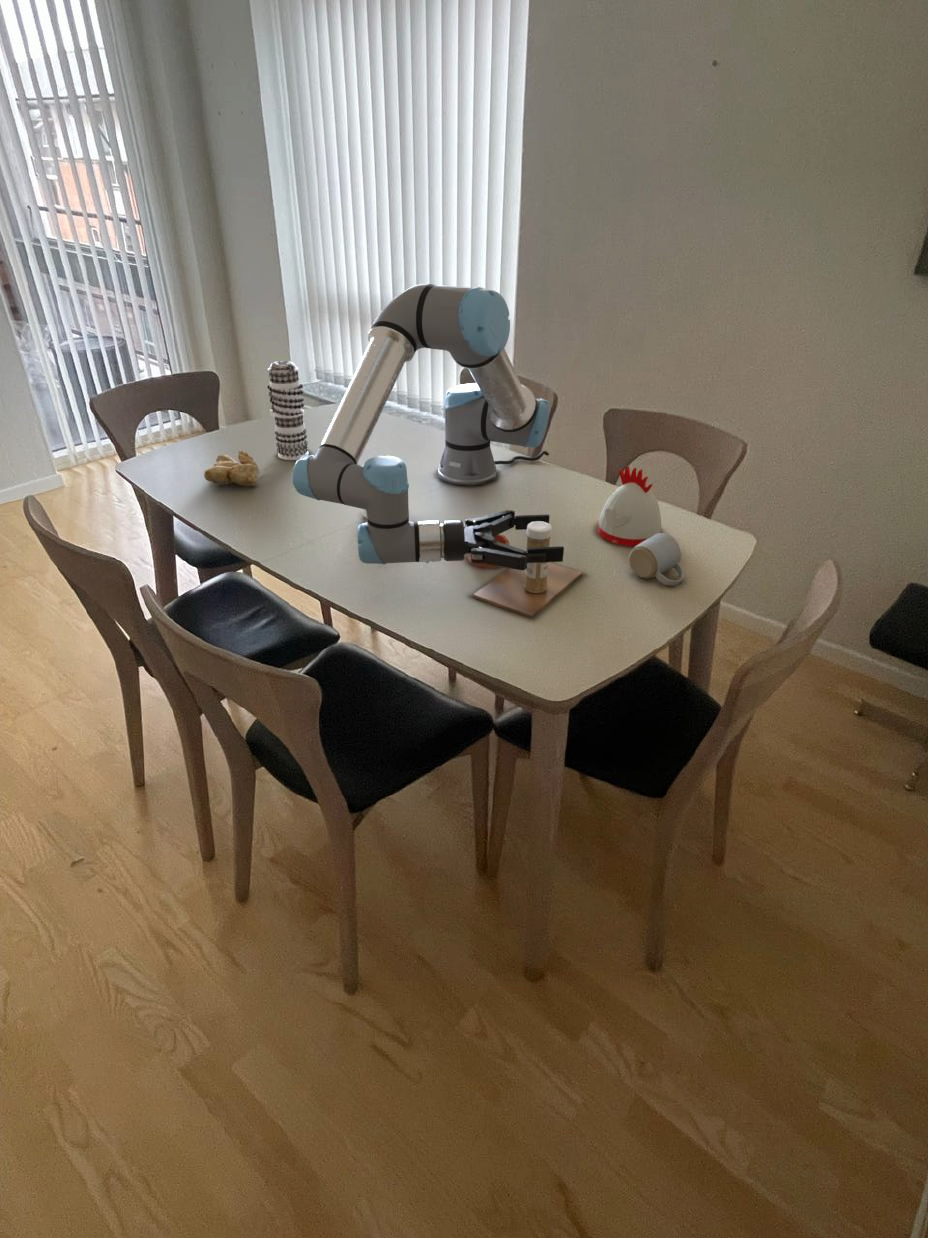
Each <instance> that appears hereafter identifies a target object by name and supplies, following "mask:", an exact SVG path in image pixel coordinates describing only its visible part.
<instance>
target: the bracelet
mask: <svg viewBox="0 0 928 1238" xmlns="http://www.w3.org/2000/svg"><path fill="white" fill-rule="evenodd" d="M493 538H495V539H496V540H497V541H498V542H500V543H504V544H507V545H510V540H509V539H508V538H507V537H506V536H505V535H503V534H501V533H500V534H498V535H496V536H494V537H493ZM484 556H485V555H484ZM466 560H467V561H468V562H469V563H470V565H473V566H474V567H475V566H476V567H478V568H483V569H493V568H494V569H495V568H498V567H500V566H496V565H490V564H485V563H472V562H471V561H472V554H466Z"/></svg>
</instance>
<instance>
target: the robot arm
mask: <svg viewBox="0 0 928 1238" xmlns="http://www.w3.org/2000/svg"><path fill="white" fill-rule="evenodd" d="M509 317H510V310H509V307H508V304H507V301H506V300H505V298H504V296H503V295H501V294H500V293H499V292H497V291H496V290H493V289H487V288H484V287H480V286H475V287H471V286H469V287H468V286H455V285H442V284H433V283H420V284H416V285H413V286H411V287H409V288H406V289H404V290H403V291H402V292H400V293H399V294H397V295H396V296H395V297H394V298H392V299H391V300H390V301H389V302H388V303H387V305H386V306H385V307H384V308H383V309H382V310H381V311H380V312H379V313H378V315H377V316H376V318H375V319H374V320H373V323H372V325H371V327H370V329H369V331H368V335H367V340H368V343H369V344H368V346H367V347H366V350H365V352H364V354H363V356H362V358H361V361H360V363H359V364H358V366H357V368H356V371H355V373H354V375H353V377H352V379H351V381H350V383H349V384H348V387H347V388H346V389H347V390H346V391H345V393H344V396H343V398H342V399H341V402H340V404H339V406H338V408H337V410H336V412H335V414H334V416H333V418H332V421H331V423H330V424H329V426H328V429H327V431H326V433H325V434H324V437H323V439H322V441H321V443H320V445H319V447H318V449H317V450H316V453H315V455H312V454H310V455H309V454H308V455H305V456H302V457H301V458H300V459H298V460H296V462H295V463H294V466H293V469H292V474H291V475H292V484H293V487H294V489H295V491H296V492H297V493H298V494H299V495H301V496H304V497H307V498H310V499H313V500H316V501H325V502H329V503H335V504H340V505H343V506H347V507H353V508H357V509H360V510H361V509H365V510H366V512H367V518H366V522H362V523H359V524H358V525H357V535H356V537H357V551H358V558H359V561H360V562H361V563H363V564H369V565H370V564H374V565H375V564H376V565H388V564H402V563H403V564H404V563H426V564H429V563H431V562H432V563H433V562H434V563H435V562H441V561H442V559H443V560H444V561H445V562H462V561H463V560H465V555H467V554H472V561H471V562H472V563H485V564H490V565H496V566H499V567H502V568H506V569H509V568H511V569H517V570H525V569H527V563H541V562H549V563H563V562H564V552H565V547H564V546H562V545H561V546H549V547H531V548H527V547H526V549H527V551H526V549H522V548H520V547H516V546H513V545H510V544H509V545H507V544H504V543H500V542H498V541H497V540H496V539H495V538H493V537H494V536H496V535H498V534H500V535H501V534H503V533H505V532H507V531H510V530H511V529H513V528H514V529H515V531H524V530H526V531H527V526H528V524H529V523H531V522H535V521H542V522H546V523H549V524H550V514H522V515H521V514H520V515H516V510H514V509H513V510H511V509H510V510H508V509H507V510H503V511H497V512H493V513H489V514H486V515H482V516H479V517H473V518H465V519H464V522H463V520H461V519H453V520H452V519H449V520H444V521H443V522H442V523H441V522H440V521H439V520H420V521H419V520H418V521H410V513H409V487H410V484H409V481H408V479H409V478H408V470H407V465H406V463H405V462H404V460H403V459H401V458H399V457H396V456H394V455H393V456H392V455H386V456H383V455H377V456H373V457H371V458H369V459H367V460H366V461H365V462H364V464H363V465H362V464H358V463H359V462H360V459H361V457H362V455H363V453H364V451H365V448H366V446H367V444H368V442H369V440H370V438H371V436H372V434H373V431H374V429H375V427H376V425H377V423H378V421H379V418H380V417H381V414H382V412H383V411H384V408H385V407H386V404H387V401H388V399H389V397H390V395H391V393H392V391H393V390H394V387H395V384H396V382H397V380H398V378H399V376H400V374H401V372H402V369H403V367H404V365H405V363H409V362H411V361H412V360H413V359H414V356H415V355H416V352H417V351H418V350H421V349H431V350H438V351H446V352H448V353H449V354H450V356H451V358H452V359H453V361H454V362H455V363H456V364H457V365H458V366H460V367H462V368H465V369H467V370H468V372H469V373H470V375H471V377H472V378H473V380H474V382H470V383H464V384H459V385H455V386H453V387H450V388H449V389H448V390H447V391H446V393H445V398H444V407H443V409H444V449H443V452H442V455H441V458H440V461H439V465H438V468H437V469H438V471H437V472H438V473H437V474H438V478H439V479H440V480H441V481H443V482H444V483H445V482H446V483H447V484H451V485H456V486H466V487H468V486H470V487H471V486H480V485H485V484H488V483H491V482H492V481H494V480H495V479H496V478H497V471H498V470H497V465H511V464H513V463H514V462H515V461H518V460H519V461H520V460H521V461H528V462H534V461H538V460H540V459H541V458H542V457H543V456H544V455H545V456H547V457H548V456H550V453H549V452H548V451H547V450H542V451H541V452H539V454H538V455H536V456H532V457H530V456H524V455H516V456H513V457H511V459H510V460H495V459H494V456H493V452H492V448H491V442H494V443H500V444H506V445H512V446H518V447H523V448H525V449H526V448H533V449H535V448H536V449H537V448H538V447H539V446H541V444H542V442H543V440H544V438H545V435H546V432H547V428H548V425H549V419H550V410H551V409H550V408H551V407H550V402H549V401H548V400H547V399H544V398H541V397H540V398H536V397H535V394H534V393H533V392H532V390H531V389H530V388H529V387H528V386H526V385H524V384H522V383H521V381H520V378H519V376H518V374H517V372H516V370H515V367H514V366H513V363H512V362H511V359H510V357H509V355H508V353H507V351H506V349H505V348H506V346H507V344H508V341H509V337H510V331H511V320H510V318H509ZM484 555H485V556H484Z"/></svg>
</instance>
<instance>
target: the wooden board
mask: <svg viewBox="0 0 928 1238" xmlns="http://www.w3.org/2000/svg"><path fill="white" fill-rule="evenodd" d="M582 575H583V572H581V571H578V570H575V569H571V568H568V567H565V566H563V565H559V564H556V563H554V562H548V574H547V589H546V590H545V591H544V592H542V593H531V592H528V591H527V590H525V588H524V584H525V570H517V569H511V568H506V570H504V571H503V572H502V573H500V574H499V575H497V577H495V578H494V579H493V580H491V581H490V582H488V583H486V585H484V586H483V587H481V588H480V589H479V590H478V591H476V592H474V593H473V595H472V597H473V598H474V599H477V600H479V601H483V602H486V603H489V604H492V605H493V606H496V607H498V608H499V607H500V608H502V609H506V610H508V611H511V612H512V613H517V614H519V615H522V616H524V617H527V618H530V619H533V618H534V617H535V616H536V615H537V614H538V613H539V612H541V611H542V610H543V609H544V608H545V607H547V606H548V605H549V604H550V603H551V602H552V601H553V600H555V599H556V598H557V597H558V596H560V594H561V593H563V592H564V591H565V590H566V589H568V588H569V587H570V586H571V585H572V584H574V583H575V582H576V581H577V580H578V579H579V578H580V577H581V576H582Z"/></svg>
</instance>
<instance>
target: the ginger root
mask: <svg viewBox="0 0 928 1238" xmlns="http://www.w3.org/2000/svg"><path fill="white" fill-rule="evenodd" d="M237 458H238V461H239V462H237V461H236V460H235V459H233V458H232V457H231V456H230V455H228V454H219V455H218V456H217V458H216V459H215V461H216V462H215V463H214V464H213V466H211V467H208V468H207V469H205V471H204V474H203V478H204V479H205V480H206V481H207V482H211V483H213V484H216V485H227V484H231V483H234V484H237V485H239V486H245V487H251V486H254V485H255V484H256V483H257V481H258V479H259V474H260V469H259V465H258V464H257V462H256V461H255V459H254V458H253V456H250V455H249V453H248V452H247V451H243V450H239V451H238V457H237Z"/></svg>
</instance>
